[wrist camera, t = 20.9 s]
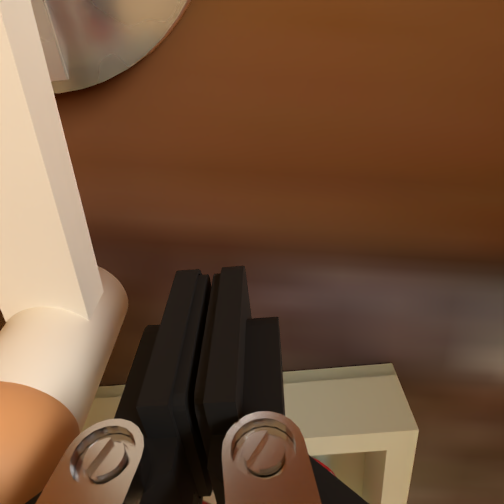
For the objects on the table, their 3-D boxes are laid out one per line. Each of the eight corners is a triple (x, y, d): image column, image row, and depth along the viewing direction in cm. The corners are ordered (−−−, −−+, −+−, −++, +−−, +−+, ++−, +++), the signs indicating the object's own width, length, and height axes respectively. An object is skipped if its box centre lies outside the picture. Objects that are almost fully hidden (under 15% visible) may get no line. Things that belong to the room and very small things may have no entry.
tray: (391, 363, 17) (419, 429, 14) (375, 525, 23) (391, 591, 20) (84, 387, 17) (55, 456, 14) (151, 540, 23) (140, 606, 21)
